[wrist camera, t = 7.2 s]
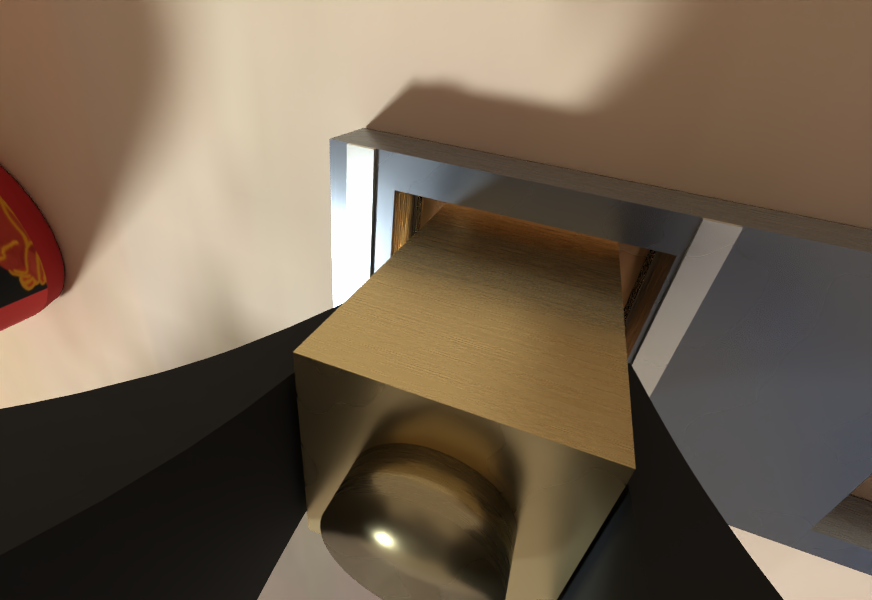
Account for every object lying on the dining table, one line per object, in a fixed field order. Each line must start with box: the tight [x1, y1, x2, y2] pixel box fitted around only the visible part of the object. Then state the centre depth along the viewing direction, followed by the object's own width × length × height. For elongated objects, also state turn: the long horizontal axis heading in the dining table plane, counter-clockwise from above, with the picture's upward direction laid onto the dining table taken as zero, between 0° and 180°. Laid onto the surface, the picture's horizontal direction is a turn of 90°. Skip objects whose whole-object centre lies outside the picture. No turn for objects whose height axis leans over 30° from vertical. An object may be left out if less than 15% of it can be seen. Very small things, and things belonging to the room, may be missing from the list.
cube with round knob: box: [293, 205, 636, 600], centre depth 8 cm, size 4×4×7 cm
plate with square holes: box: [330, 128, 872, 575], centre depth 9 cm, size 7×19×2 cm, turn 83°
